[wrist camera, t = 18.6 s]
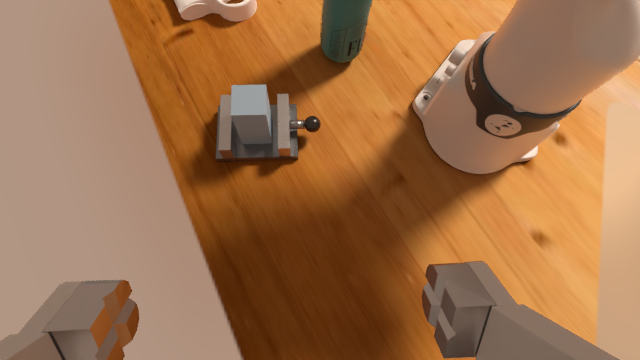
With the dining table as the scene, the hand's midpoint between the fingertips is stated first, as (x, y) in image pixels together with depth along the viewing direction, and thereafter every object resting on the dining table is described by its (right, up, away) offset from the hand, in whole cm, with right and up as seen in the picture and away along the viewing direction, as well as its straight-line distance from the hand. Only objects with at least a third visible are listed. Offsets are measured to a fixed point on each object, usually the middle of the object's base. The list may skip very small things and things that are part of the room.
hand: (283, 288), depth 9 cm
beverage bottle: (+4, +23, +44) cm, 50 cm away
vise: (-8, +9, +39) cm, 41 cm away
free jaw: (-2, +10, +38) cm, 39 cm away
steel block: (-8, +10, +38) cm, 40 cm away
